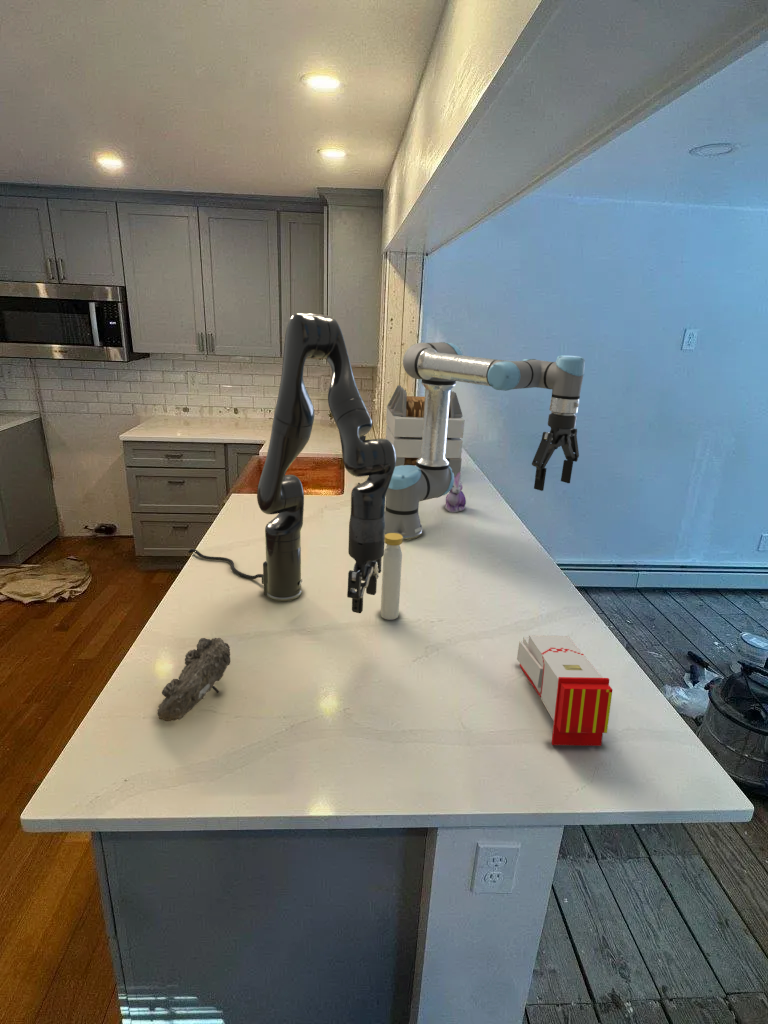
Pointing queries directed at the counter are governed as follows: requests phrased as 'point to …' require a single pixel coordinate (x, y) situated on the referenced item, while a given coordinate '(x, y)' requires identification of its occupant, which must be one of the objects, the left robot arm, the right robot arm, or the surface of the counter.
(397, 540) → the cap
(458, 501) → the figurine
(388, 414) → the white slatted box
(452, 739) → the counter surface
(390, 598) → the bottle
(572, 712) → the toy
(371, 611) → the counter surface
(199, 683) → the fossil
